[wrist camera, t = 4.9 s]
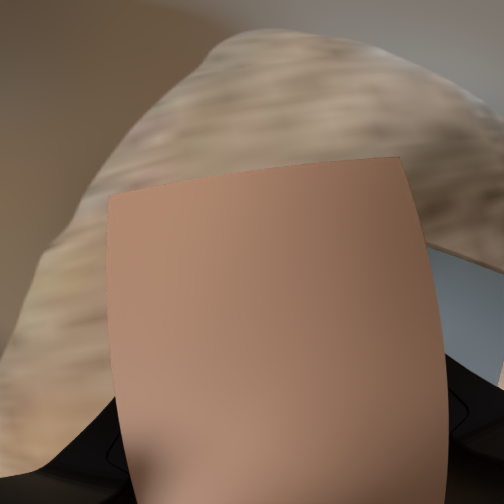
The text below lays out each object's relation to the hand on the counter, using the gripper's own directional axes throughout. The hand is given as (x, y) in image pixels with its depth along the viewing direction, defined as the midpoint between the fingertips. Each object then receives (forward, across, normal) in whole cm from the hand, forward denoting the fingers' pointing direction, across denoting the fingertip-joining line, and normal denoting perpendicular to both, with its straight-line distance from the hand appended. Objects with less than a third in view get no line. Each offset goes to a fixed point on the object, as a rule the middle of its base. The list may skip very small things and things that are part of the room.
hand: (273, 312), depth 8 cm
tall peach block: (+2, 0, +4) cm, 5 cm away
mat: (+6, -13, +11) cm, 19 cm away
